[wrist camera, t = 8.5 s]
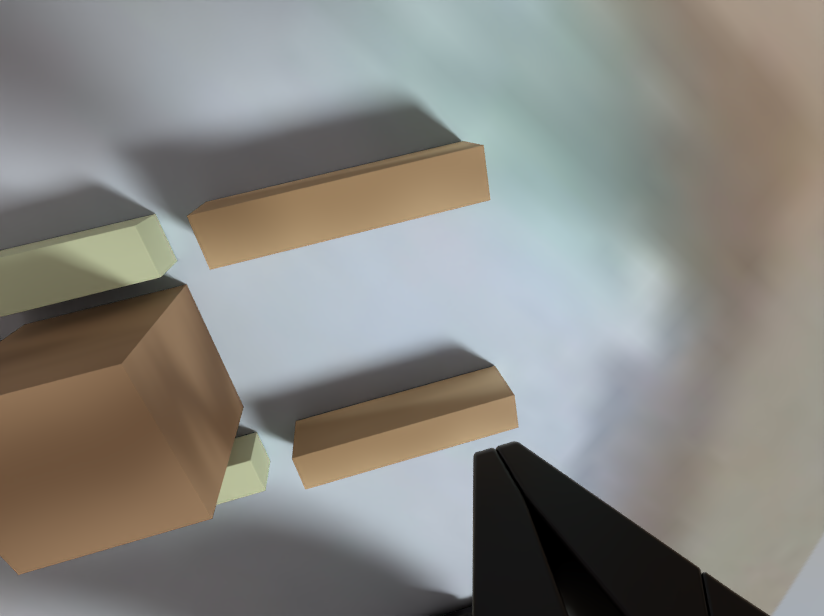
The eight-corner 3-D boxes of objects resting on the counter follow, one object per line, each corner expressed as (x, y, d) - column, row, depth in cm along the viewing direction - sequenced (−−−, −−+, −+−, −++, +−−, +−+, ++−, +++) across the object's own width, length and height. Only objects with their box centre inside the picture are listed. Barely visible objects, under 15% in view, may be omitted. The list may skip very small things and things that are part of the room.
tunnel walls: (499, 395, 18) (518, 427, 16) (307, 450, 17) (305, 489, 16) (462, 141, 14) (483, 145, 12) (206, 201, 13) (186, 215, 11)
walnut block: (243, 405, 16) (212, 518, 12) (106, 443, 16) (18, 575, 11) (187, 283, 14) (121, 363, 9) (26, 323, 14) (-123, 427, 9)
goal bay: (270, 461, 17) (265, 490, 16) (142, 497, 17) (125, 531, 15) (155, 213, 13) (135, 225, 12) (-21, 255, 12) (-63, 272, 11)
